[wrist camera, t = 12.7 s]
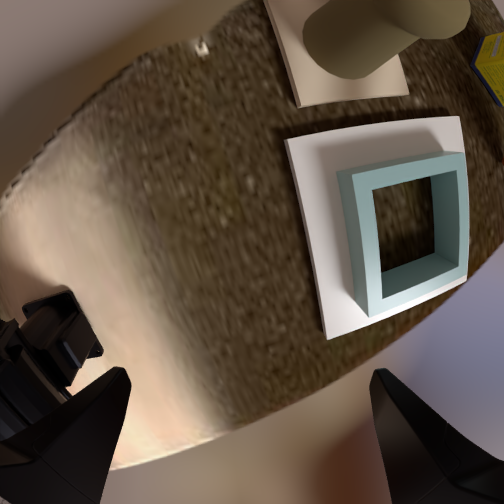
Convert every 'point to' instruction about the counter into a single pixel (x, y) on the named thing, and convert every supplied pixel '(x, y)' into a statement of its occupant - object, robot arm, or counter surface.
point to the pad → (313, 76)
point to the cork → (376, 31)
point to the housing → (364, 221)
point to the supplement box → (491, 65)
